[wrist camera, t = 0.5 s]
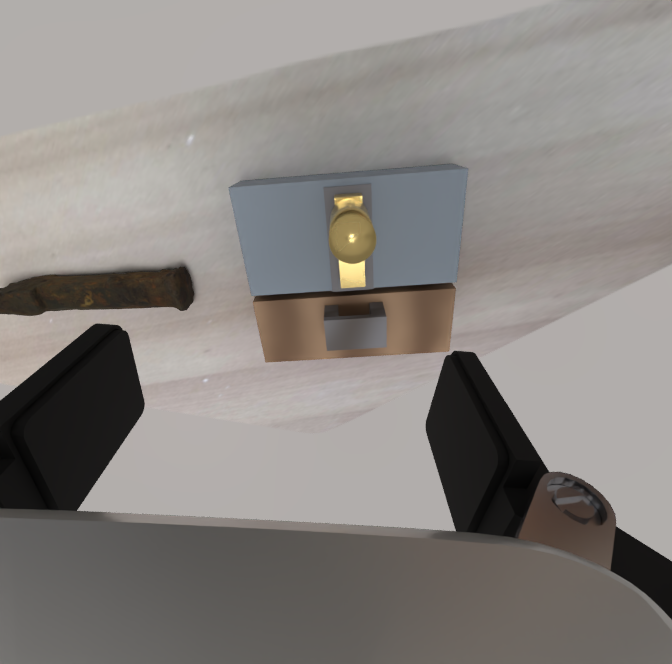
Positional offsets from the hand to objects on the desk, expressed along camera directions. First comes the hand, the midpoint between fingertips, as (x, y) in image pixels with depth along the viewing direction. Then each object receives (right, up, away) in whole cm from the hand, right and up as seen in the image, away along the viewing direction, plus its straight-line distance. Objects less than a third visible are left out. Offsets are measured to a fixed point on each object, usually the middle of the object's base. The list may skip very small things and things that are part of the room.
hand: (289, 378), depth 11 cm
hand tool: (-22, +6, +25) cm, 34 cm away
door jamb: (+3, +4, +26) cm, 26 cm away
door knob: (+3, +9, +17) cm, 20 cm away
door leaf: (+3, +11, +21) cm, 24 cm away
